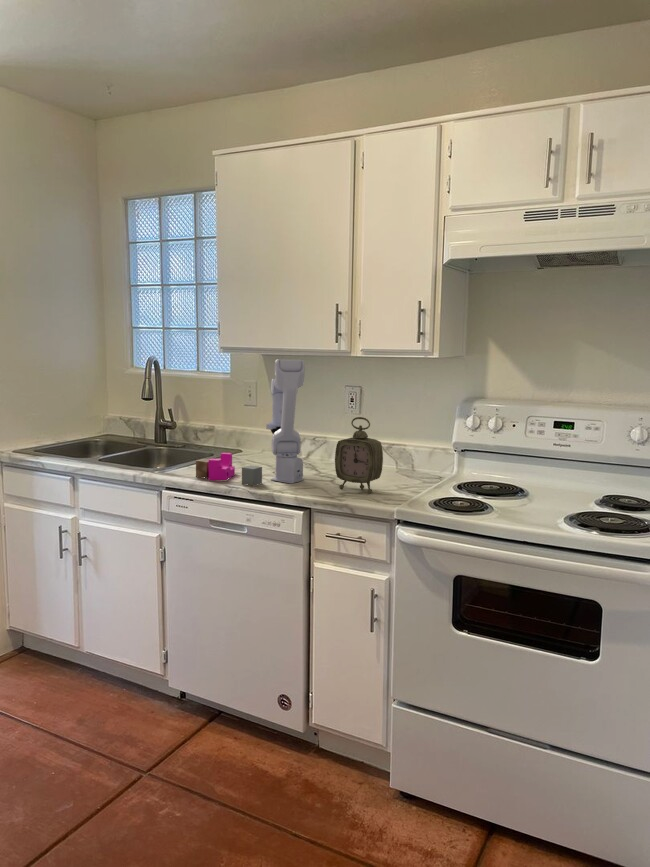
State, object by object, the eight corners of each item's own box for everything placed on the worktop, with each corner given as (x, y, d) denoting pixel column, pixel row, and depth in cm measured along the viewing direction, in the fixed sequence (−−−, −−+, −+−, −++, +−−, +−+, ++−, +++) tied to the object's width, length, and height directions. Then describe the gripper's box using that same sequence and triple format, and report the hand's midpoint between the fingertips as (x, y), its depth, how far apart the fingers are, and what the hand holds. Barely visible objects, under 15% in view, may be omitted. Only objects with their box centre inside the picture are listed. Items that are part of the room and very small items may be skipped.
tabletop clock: (334, 489, 226) (335, 416, 222) (347, 484, 233) (348, 414, 230) (372, 495, 218) (374, 420, 215) (384, 490, 226) (386, 417, 222)
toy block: (225, 481, 235) (225, 460, 234) (208, 480, 236) (208, 459, 235) (238, 473, 250) (238, 453, 249) (222, 472, 251) (222, 452, 250)
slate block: (261, 483, 233) (262, 466, 232) (253, 486, 228) (253, 469, 228) (250, 481, 235) (250, 465, 234) (241, 484, 231) (241, 467, 230)
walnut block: (215, 476, 243) (215, 460, 243) (206, 478, 239) (206, 462, 238) (204, 474, 246) (204, 458, 245) (195, 476, 242) (195, 460, 241)
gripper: (282, 408, 261) (281, 442, 263) (259, 411, 249) (259, 447, 251) (297, 410, 257) (296, 444, 259) (275, 413, 245) (274, 449, 247)
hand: (279, 446), depth 255 cm, fingers closed
